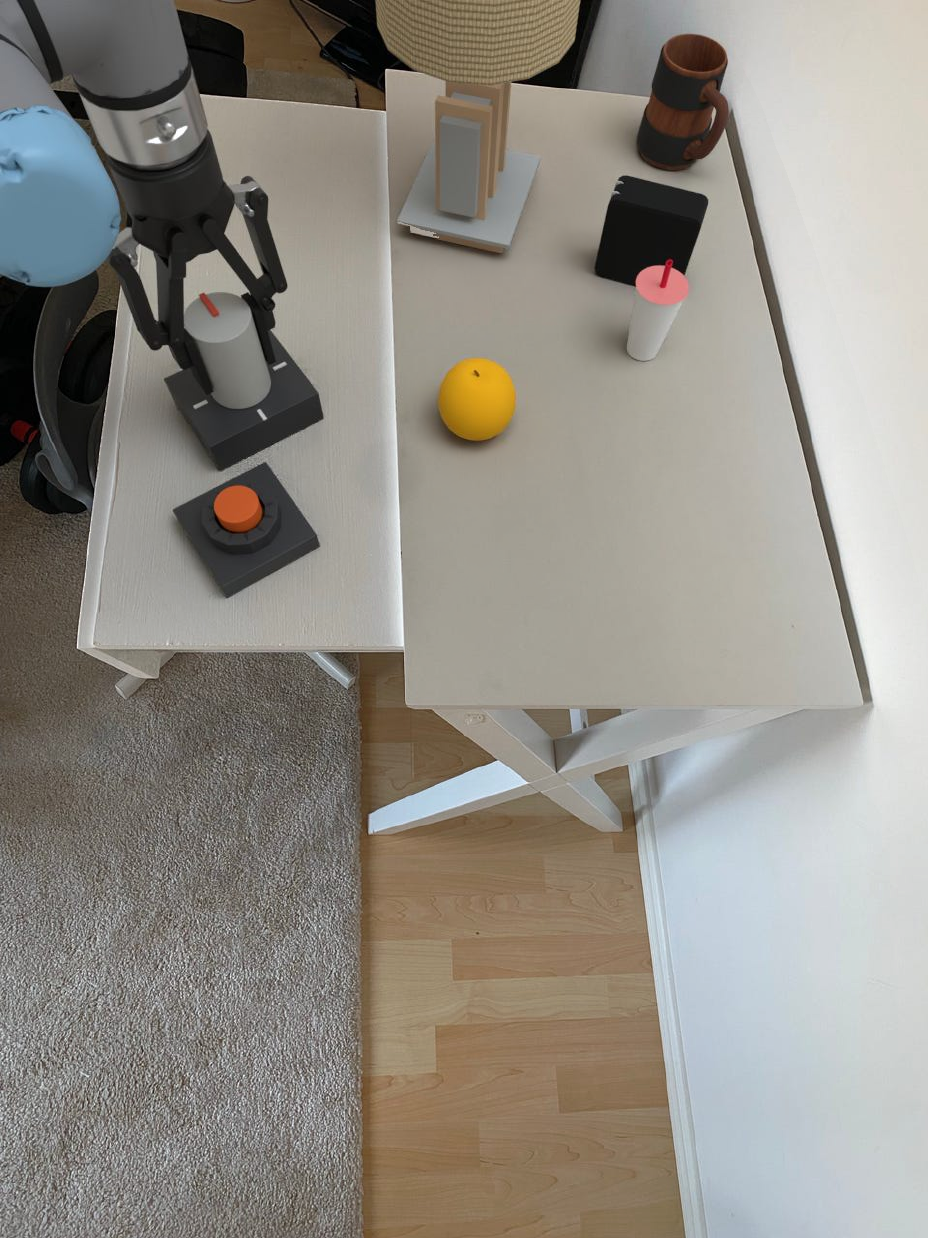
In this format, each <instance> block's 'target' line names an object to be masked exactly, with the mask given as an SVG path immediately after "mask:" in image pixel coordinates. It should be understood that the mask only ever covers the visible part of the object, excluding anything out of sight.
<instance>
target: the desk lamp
mask: <svg viewBox="0 0 928 1238" xmlns="http://www.w3.org/2000/svg"><path fill="white" fill-rule="evenodd" d="M580 5H581V0H375V12H376V26H377V30H378V31H379V33H380V37H381V38H382V40H383V43H384V44H385V47H386V49H387V51H389V52H390V53H391V54H392V55H393V56H395V57H396V58H397V59H398V60H399V61H401V62H402V63H404V64H405V65H406V66H408V67H409V68H410V69H411V70H413V71H415V72H418V73H421V74H424V75H426V76H429V77H433V78H435V79H439V80H442V81H443V82H445V95H444V96H443V95H439V94H438V95H437V96H436V98H435V100H434V138H433V140H432V142H431V144H430V146H429V148H428V151H427V153H426V156H425V157H424V160H423V162H422V163H421V166H420V169H419V171H418V173H417V175H416V178H415V180H414V182H413V184H412V187H411V189H410V190H409V193H408V196H407V198H406V200H405V203H403V206H402V209H401V211H400V213H399V216H398V218H397V220H396V222H397V221H398V222H402V223H404V224H408V225H411V226H413V227H416V228H419V229H421V230H425V231H430V232H434V233H436V234H433V236H437V237H438V236H439V238H437V239H436V240H439V241H443V242H448V243H452V244H457V245H462V246H466V247H470V248H476V249H480V250H483V251H487V252H492V253H493V252H494V253H498V254H503V251H504V249H508V250H509V249H510V248H511V245H512V242H513V239H514V236H515V234H516V231H517V227H518V225H519V222H520V219H521V217H522V214H523V211H524V208H525V205H526V203H527V200H528V197H529V196H530V195H529V194H530V192H531V189H532V187H533V186H532V185H533V183H534V180H535V177H536V174H537V173H538V170H539V166H540V164H541V161H542V156H541V155H537V154H531V153H527V152H521V151H517V150H511V149H507V144H508V133H509V131H508V130H509V119H510V107H511V94H512V93H511V91H512V82H518V81H524V80H528V79H530V78H533V77H534V76H536V75H538V74H540V73H542V72H544V71H546V70H548V69H550V68H551V67H553V66H555V65H557V64H559V63H560V61H561V60H562V59H563V57H564V56H565V55H566V54H567V52H569V50H570V48H571V47H572V45H573V44H574V43H575V42H576V41H575V40H576V33H577V25H578V20H579V19H578V18H579V12H580ZM399 217H400V218H399Z"/></svg>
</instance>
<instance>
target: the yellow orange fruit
mask: <svg viewBox="0 0 928 1238" xmlns="http://www.w3.org/2000/svg"><path fill="white" fill-rule="evenodd" d="M437 398H438V399H437V405H438V410H439V414H440V418H441V420H442V421H443V423H444V424H445V426H446V427H447V428H448V430H450V432H452V433H453V434H455V435H456V436H458V437H460V438H462V439H465V440H468V441H475V442H476V441H478V442H479V441H485V440H489V439H492V438H494V437H496V436H498V435H499V434H501V433H502V432H503V431H504V430H505V429H507V427H508V426H509V425H510V422H511V420H512V419H513V417H514V415H515V412H516V407H517V406H516V403H517V392H516V387H515V385H514V382H513V379H512V377H511V375H510V374H509V373H508V371H507V370H506V369H505V368H504V367H503V366H502V365H500V364H499V363H497V362H496V361H494V360H491V359H487V358H484V357H483V358H482V357H472V358H465V359H464V360H461V361H459V362H457V363H456V364H454V366H452V367H451V368H450V369H449V370H448V371H447V373H446V374H445V376H444V377H443V379H442V381H441V383H440V385H439V390H438V397H437Z"/></svg>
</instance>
